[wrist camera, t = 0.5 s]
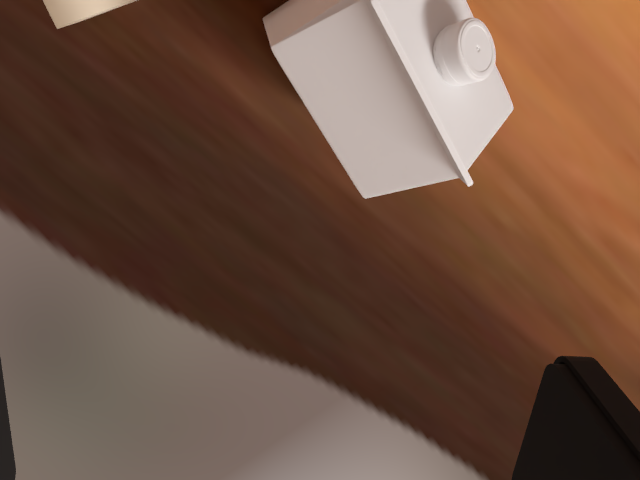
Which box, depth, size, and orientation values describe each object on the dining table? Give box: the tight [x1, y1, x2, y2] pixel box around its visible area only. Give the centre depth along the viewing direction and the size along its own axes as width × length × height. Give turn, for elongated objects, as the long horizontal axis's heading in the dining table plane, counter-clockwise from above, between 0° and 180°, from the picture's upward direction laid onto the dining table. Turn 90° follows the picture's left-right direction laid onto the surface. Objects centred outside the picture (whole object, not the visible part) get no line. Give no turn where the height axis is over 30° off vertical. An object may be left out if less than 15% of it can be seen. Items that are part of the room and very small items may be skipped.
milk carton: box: [263, 0, 513, 199], centre depth 28 cm, size 7×7×19 cm
